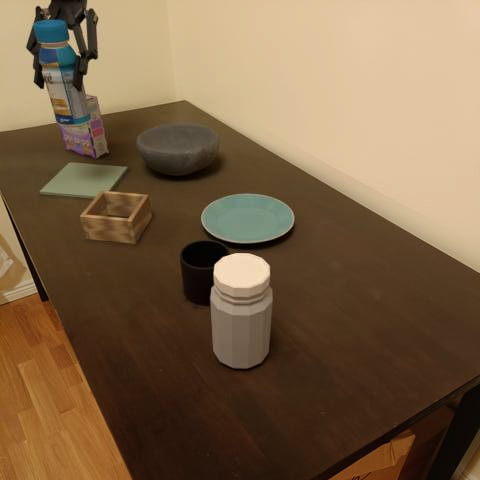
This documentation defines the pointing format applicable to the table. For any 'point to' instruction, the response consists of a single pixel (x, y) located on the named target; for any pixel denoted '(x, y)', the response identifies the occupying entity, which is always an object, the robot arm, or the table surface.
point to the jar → (241, 310)
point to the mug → (200, 268)
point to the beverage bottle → (61, 73)
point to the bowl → (178, 147)
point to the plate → (247, 218)
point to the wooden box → (113, 227)
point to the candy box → (87, 134)
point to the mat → (84, 180)
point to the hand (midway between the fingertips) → (57, 86)
